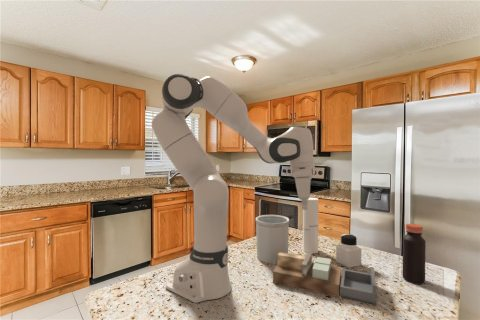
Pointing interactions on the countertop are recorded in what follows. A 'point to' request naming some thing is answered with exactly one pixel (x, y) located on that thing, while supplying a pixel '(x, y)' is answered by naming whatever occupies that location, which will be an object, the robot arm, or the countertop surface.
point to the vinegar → (414, 254)
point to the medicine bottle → (348, 251)
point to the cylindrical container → (310, 226)
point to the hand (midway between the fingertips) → (305, 206)
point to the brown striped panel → (309, 280)
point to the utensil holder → (271, 237)
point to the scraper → (295, 261)
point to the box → (359, 286)
